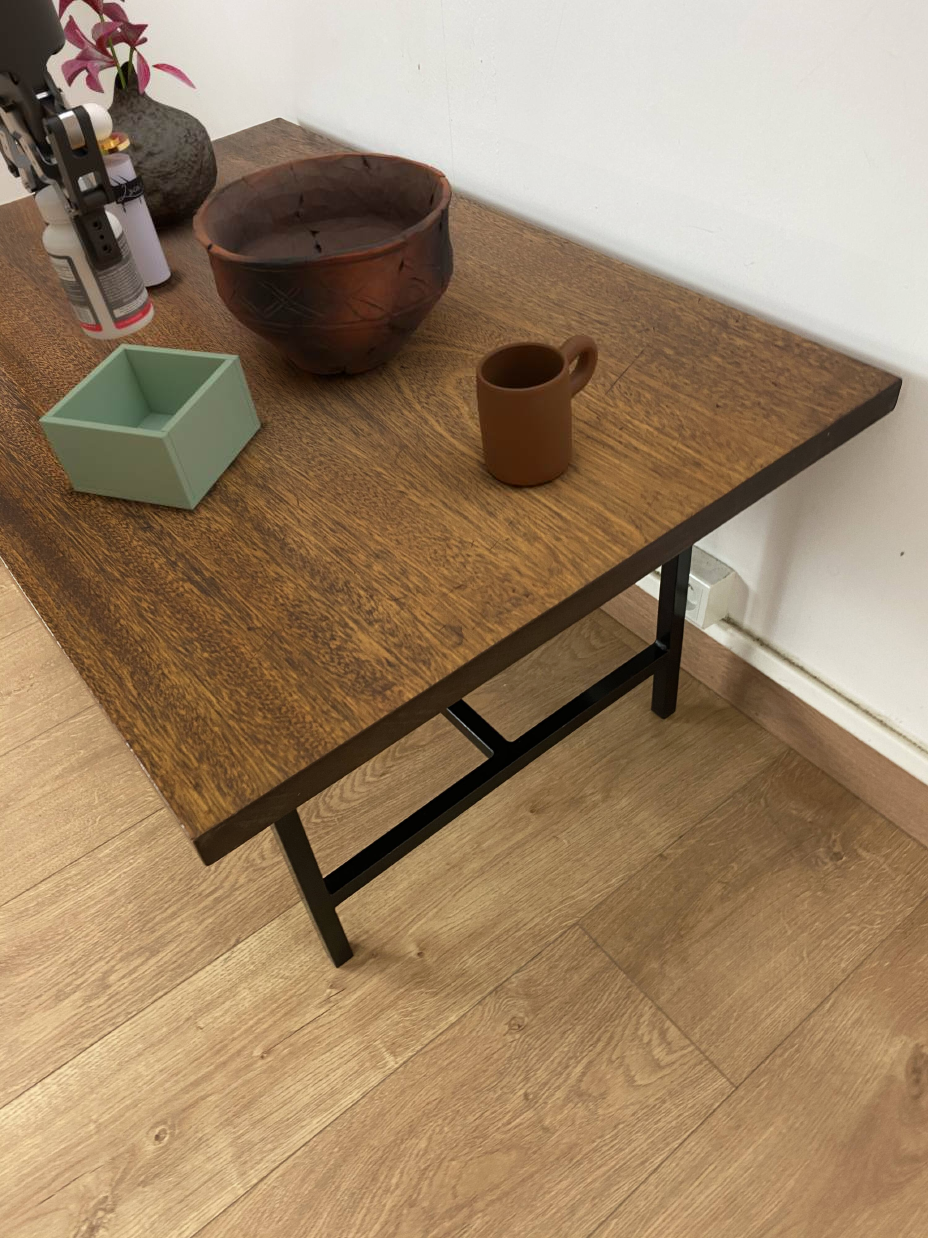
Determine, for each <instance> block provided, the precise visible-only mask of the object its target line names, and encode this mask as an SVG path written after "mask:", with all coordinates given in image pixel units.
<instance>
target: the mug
mask: <svg viewBox="0 0 928 1238" xmlns="http://www.w3.org/2000/svg"><path fill="white" fill-rule="evenodd" d="M598 358H599V350H598V347H597V343H596V342H595V339H594V338H592V337H591V336H589V335H588V334H586V333H585V334H582V333H581V334H575V335H573V336H571V337H570V336H569V337H568V338H567V339H566V340H564V342H563V343H562V344H561V345H560V346H559V347H556V346H553V345H551V344H548V343H544V342H540V341H539V342H538V341H517V342H511V343H507V344H503V345H500V346H498V347H495V348H493V349H491V350H490V351H488V352H486V354H484V355H483V356H482V357H481V358H480V360H479V361H478V363H477V365H476V369H475V378H476V379H475V381H476V382H475V383H476V385H475V386H476V401H477V409H478V410H477V411H478V420H479V428H480V435H481V444H482V445H481V446H482V453H483V459H484V463H485V466H486V469H487V470H488V471H489V472H490V474H491V475H492V476H493V477H495V478H496V479H497V480H499V481H501V482H504V483H506V484H509V485H515V486H536V485H541V484H544V483H548V482H549V481H552V480H554V479H556V478H558V477H559V476H560V475H561V474H563V473H564V471H566V469H567V467H569V464H570V462H571V459H572V455H573V417H572V416H573V413H572V411H573V410H572V407H573V405H572V400H573V398H574V397H575V396H576V395H577V394H579V393H580V392H581V391H583V390H584V388H586V386H587V385H588V384H589V382H590V381H591V379H592V377H593V375H594V373H595V371H596V368H597V364H598ZM576 359H577V362H576V364H575V367H574V368H573V370H572V371H571V372H570V366H571V365H572V364H573V362H575V360H576Z"/></svg>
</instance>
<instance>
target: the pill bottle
mask: <svg viewBox="0 0 928 1238" xmlns="http://www.w3.org/2000/svg"><path fill="white" fill-rule="evenodd" d="M78 183H79V186H80V189H81V191H83V190H86V189H87V187H86V185H85V183H84V182H83V180H82V178H79V180H78ZM34 202H35V204H36V205H37V208H38V210H39V213H40V215H41V216H42V219H43V221H44V223H45V222H47V223H49V225H48V226H46V227H45V229H44V230H43V233H42V244H43V246H44V250H45V251H46V253H47V255H48V258H49V260H50V262H51V265H52V267H53V268H54V270H55V274H56V275H57V277H58V279H59V281H60V284H61V286H62V288H63V290H64V292H65V294H66V297H67V299H68V301H69V303H70V305H71V307H72V310H73V312H74V314H75V316H76V319H77V321H78V322H79V325H80V327H81V329H82V331H83V332H84V334H85V335H86V336H88V337H90V338H91V339H92V338H93V339H96V340H101V341H103V340H104V341H110V340H116V339H120V338H123V337H124V338H125V337H127V336H129V335H132V334H134V333H136V332H138V331H140V330H142V329H144V328H145V327H146V326H147V325H149V323H150V322H151V321H152V320H153V318H154V314H155V310H154V307H153V303H152V302H151V297H150V296H149V293H148V290H147V288H146V286H145V285H144V283H143V280H142V278H141V275H140V273H139V270H138V268H137V265H136V263H135V260H134V258H133V255H132V252H131V250H130V247H129V245H128V242H127V240H126V237H125V234H124V232H123V229H122V226H121V225H120V222H119V221H118V219H117V218H116V217H115V216H114V215H113V214H111V213H110V212H107V211H105V212H106V214H107V217H108V219H109V222H110V224H111V227H112V229H113V232H114V234H115V237H116V240H117V242H118V245H119V247H120V250H121V252H122V255H123V258H122V261H121V262H120V263H118V264H116V265H114V266H111V267H109V268H107V269H105V270H102V271H98V270H96V269H94V268H93V267H91V266H90V264H89V262H88V260H87V258H86V255H85V253H84V251H83V248H82V246H81V244H80V241H79V239H78V237H77V234H76V232H75V230H74V227H73V225H72V223H71V220H70V218H69V215H68V214H67V213H66V211H65V209H64V206H63V204H62V202H61V200H60V199H59V197H58V195H57V193H56V191H55V189H54V188H53V186H52V185H50V186H47V187H45V188H44V189H42V190H41V191H40V192H38V193H37V195H36V196H35V199H34Z"/></svg>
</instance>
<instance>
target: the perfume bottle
mask: <svg viewBox="0 0 928 1238" xmlns="http://www.w3.org/2000/svg"><path fill="white" fill-rule="evenodd" d="M81 105H82V106H83V107H84V108H85V109H86V111H87V112H88V113H89V115H90V118H91V122H92V125H93V129H94V132H95V135H96V138H97V141H98V145H99V148H100V151H101V154H102V157H103V161H104V164H105V167H106V170H107V174H108V177H109V180H110V183H111V186H112V190H113V192H114V196H115V202H113V203H111V204H109V205H108V204H107V205H105V206H104V208H105V211H107V212H110V213H111V214H113V215H114V216H115V217H116V218H117V219H118V221H119V222H120V225H121V226H122V229H123V232H124V234H125V237H126V240H127V242H128V245H129V247H130V250H131V252H132V255H133V258H134V260H135V263H136V265H137V268H138V270H139V273H140V275H141V278H142V280H143V283H144V285H145V287H151V286H152V287H153V286H156V285H159V284H162V283H163V282H165V281H167V280H168V279H169V278H170V277H171V273H172V272H171V270H170V267H169V265H168V261H167V259H166V255H165V253H164V250H163V248H162V245H161V242H160V239H159V236H158V233H157V229H155V228H154V225H153V222H152V219H151V216H150V213H149V211H148V208H147V205H146V202H145V199H144V196H143V194H144V193H145V194H146V187H145V184H144V182H143V179H142V176H141V173H140V174H139V175H138V176H137V177H136V174H135V171H134V168H133V165H132V162H131V160H130V157H129V155H127V154H123V153H117V152H119V151H121V150H123V149H125V148H126V147H127V146H129V144H130V140H129V137H128V135H127V134H125V133H120V132H112V128H113V123H112V119H111V116H110V114H109V113H108V111H107V110H108V109H106V108H105V107H103V106H102V104H99V103H98V102H97V103H96V102H85V103H83V104H81ZM114 153H117V154H114ZM141 185H142V188H141V187H140V186H141ZM143 187H144V189H143ZM142 191H143V192H142ZM146 195H147V194H146ZM147 198H148V197H147Z"/></svg>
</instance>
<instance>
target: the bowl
mask: <svg viewBox="0 0 928 1238" xmlns="http://www.w3.org/2000/svg"><path fill="white" fill-rule="evenodd" d="M452 195H453V193H452V186H451V184H450V180H449V179H448V178H447V175H445V173H443V172H442V170H440V169H438V168H436V167H434V166H432V165H428V164H427V163H423V162H420V161H417V160H412V159H409V158H405V157H403V156H399V155H393V154H386V153H379V152H375V153H374V152H336V153H329V154H322V155H317V156H316V155H315V156H309V157H303V158H297V159H293V160H290V161H286V162H283V163H279V164H277V165H273V166H270V167H266V168H263V169H261V170H259V171H256V172H252V173H249V174H247V175H242V176H241V178H240V179H235V180H234V181H231V182H229V183H228V184H225V185H223V186H222V187H220V188H218V189H217V190H216V191H215V192H213V194H212V195H209V196H208V197H207V198H206V199H205V200H204V202H203V203H202V204H201V205H200V206H199V207H198V208H197V209H198V210H197V211H196V212H195V214H194V215H193V216H192V218H193V219H192V229H193V232H194V234H195V237H196V240H197V241H198V242H199V244H200V245H201V246H202V247H203V248H204V249H205V251H206V253H207V256H208V260H209V261H208V262H209V266H210V267H211V270H212V273H213V279H214V282H215V287H216V292H217V294H218V296H219V298H220V299H221V301H222V302H223V305H224V306H225V307H226V308H227V310H228V311H229V313H230V314H232V316H234V317H235V319H236V320H237V322H239V323H240V324H242V325H243V326H245V328H247V329H249V331H252V332H253V333H254V334H256V335H257V336H258V337H260V338H262V339H263V340H264V341H266V342H267V343H269V345H271V346H273V347H274V348H276V349H277V350H278V351H280V353H282V354H283V355H285V356H286V357H288V358H289V359H290V360H291V361H292V362H293V363H294V364H295V365H296V366H297V367H298V368H300V369H302V370H304V371H307V372H310V373H314V374H318V375H334V374H340V373H342V372H344V373H346V374H347V375H352V374H353V375H354V374H361V373H364V372H367V371H369V370H371V369H374V368H377V367H379V366H381V365H383V364H384V363H386V362H387V361H389V360H391V359H392V358H393V357H394V356H396V355H397V354H398V353H399V352H400V351H401V350H402V349H403V347H404V346H405V345H406V343H407V342H408V340H409V339H411V337H412V335H413V334H414V333H415V332H416V331H417V330H418V328H419V327H420V326H421V324H422V323H423V321H424V320H425V319H426V318H427V317H428V315H430V313H431V312H432V311H433V309H434V307H435V306H436V305H437V303H438V302H439V301H440V299H441V298H442V297H443V295H444V294H445V292H446V291H447V289H448V287H449V284H450V283H451V278H452V275H453V274H454V248H453V245H452V242H451V235H450V226H449V225H450V224H449V222H450V221H449V219H450V218H449V217H450V215H449V214H450V213H449V212H450V209H449V208H450V204H451V201H452V197H453V196H452Z"/></svg>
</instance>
